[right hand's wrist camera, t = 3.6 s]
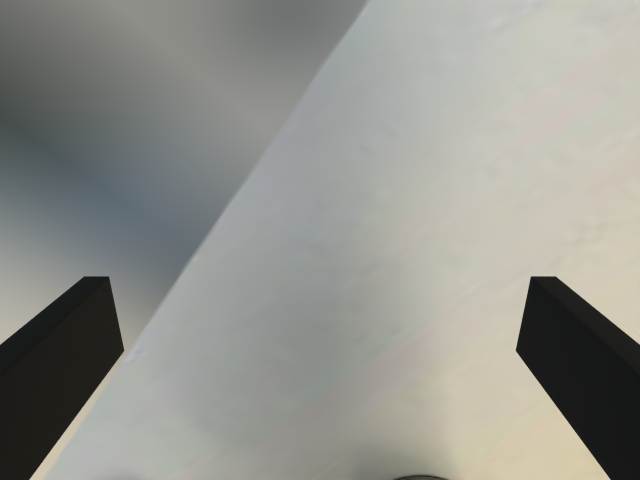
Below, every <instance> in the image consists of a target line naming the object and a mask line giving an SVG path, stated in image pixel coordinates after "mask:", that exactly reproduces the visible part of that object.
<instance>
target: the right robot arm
mask: <svg viewBox="0 0 640 480" xmlns="http://www.w3.org/2000/svg"><path fill="white" fill-rule="evenodd" d="M123 352H124V347H123V342H122V338H121V333H120V328H119V323H118V318H117V313H116V308H115V304H114V299H113V294H112V289H111V284H110V279H109V277H83V278H82V279H81V280H79V281H78V282H77V283H76V284H74V285H73V286H72V287H71V288H70V289H68V290H67V291H66V292H65V293H63V294H62V295H61V296H60V297H59V298H57V299H56V300H55V301H54V302H52V303H51V304H50V305H49V306H47V307H46V308H45V309H44V310H43V311H41V312H40V313H39V314H38V315H36V316H35V317H34V318H33V319H31V320H30V321H29V322H28V323H27V324H25V325H24V326H23V327H22V328H20V329H19V330H18V331H17V332H16V333H14V334H13V335H12V336H11V337H9V338H8V339H7V340H6V341H4V342H3V343H2V344H1V345H0V480H29V479H30V478H31V477H32V475H33V474H34V472H35V471H36V470H37V468H38V467H39V466H40V464H41V463H42V462H43V460H44V459H45V458H46V456H47V455H48V454H49V452H50V451H51V449H52V448H53V447H54V445H55V444H56V443H57V441H58V440H59V439H60V437H61V436H62V434H63V433H64V432H65V430H66V429H67V428H68V426H69V425H70V424H71V422H72V421H73V420H74V418H75V417H76V416H77V414H78V413H79V411H80V410H81V409H82V407H83V406H84V405H85V403H86V402H87V401H88V399H89V398H90V396H91V395H92V394H93V392H94V391H95V390H96V388H97V387H98V386H99V384H100V383H101V382H102V380H103V379H104V377H105V376H106V375H107V373H108V372H109V371H110V369H111V368H112V367H113V365H114V364H115V363H116V361H117V360H118V358H119V357H120V356H121V354H122V353H123ZM516 352H517V353H518V354H519V356H520V357H521V358H522V360H523V361H524V363H525V364H526V365H527V367H528V368H529V369H530V371H531V372H532V373H533V375H534V376H535V377H536V379H537V380H538V382H539V383H540V384H541V386H542V387H543V388H544V390H545V391H546V392H547V394H548V395H549V396H550V398H551V399H552V401H553V402H554V403H555V405H556V406H557V407H558V409H559V410H560V411H561V413H562V414H563V416H564V417H565V418H566V420H567V421H568V422H569V424H570V425H571V426H572V428H573V429H574V430H575V432H576V433H577V435H578V436H579V437H580V439H581V440H582V441H583V443H584V444H585V445H586V447H587V448H588V449H589V451H590V452H591V454H592V455H593V456H594V458H595V459H596V460H597V462H598V463H599V464H600V466H601V467H602V468H603V470H604V471H605V473H606V474H607V475H608V477H609V478H610V479H611V480H640V345H639V344H638V343H637V342H636V341H634V340H633V339H632V338H631V337H629V336H628V335H627V334H626V333H625V332H623V331H622V330H621V329H620V328H618V327H617V326H616V325H615V324H613V323H612V322H611V321H610V320H609V319H607V318H606V317H605V316H604V315H602V314H601V313H600V312H599V311H597V310H596V309H595V308H594V307H593V306H591V305H590V304H589V303H588V302H586V301H585V300H584V299H583V298H581V297H580V296H579V295H578V294H577V293H575V292H574V291H573V290H572V289H570V288H569V287H568V286H567V285H566V284H564V283H563V282H562V281H561V280H559V279H558V278H557V277H531V279H530V284H529V289H528V294H527V299H526V304H525V308H524V313H523V318H522V323H521V328H520V333H519V338H518V342H517V347H516ZM399 480H442V479H438V478H433V477H423V476H419V477H408V478H403V479H399Z"/></svg>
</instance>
